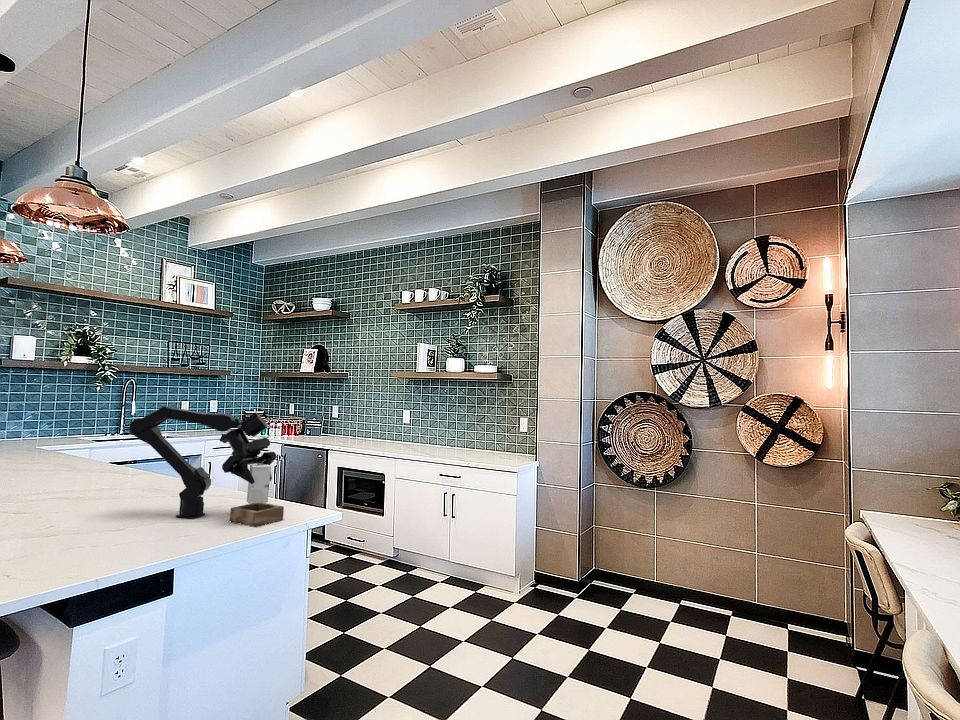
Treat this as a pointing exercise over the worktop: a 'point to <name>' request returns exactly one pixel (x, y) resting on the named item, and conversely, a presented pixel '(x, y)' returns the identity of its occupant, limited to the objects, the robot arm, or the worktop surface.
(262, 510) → the walnut socket
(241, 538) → the worktop surface
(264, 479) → the skincare box
